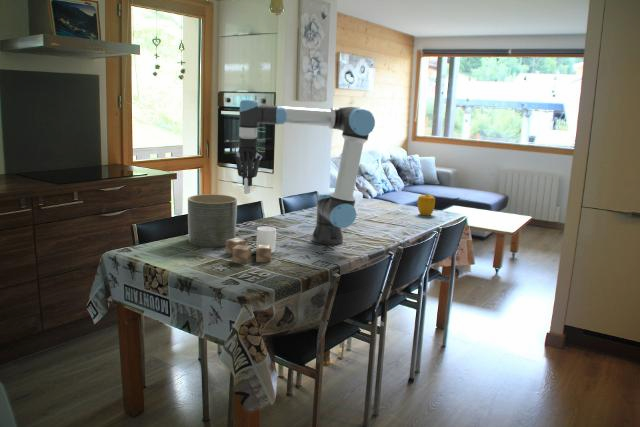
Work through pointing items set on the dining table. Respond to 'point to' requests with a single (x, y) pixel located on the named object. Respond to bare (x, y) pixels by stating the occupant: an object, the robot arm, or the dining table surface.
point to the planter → (211, 219)
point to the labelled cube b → (263, 253)
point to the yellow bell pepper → (426, 204)
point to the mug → (266, 237)
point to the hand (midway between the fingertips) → (247, 193)
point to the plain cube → (241, 254)
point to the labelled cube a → (233, 244)
